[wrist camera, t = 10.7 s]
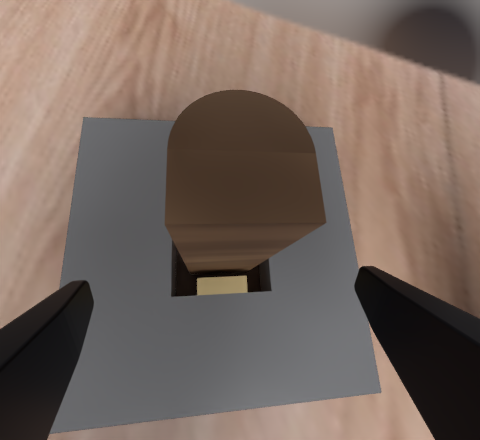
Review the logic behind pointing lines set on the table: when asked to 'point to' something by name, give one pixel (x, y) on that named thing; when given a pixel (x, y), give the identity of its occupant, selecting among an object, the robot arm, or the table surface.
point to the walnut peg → (239, 182)
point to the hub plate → (201, 299)
